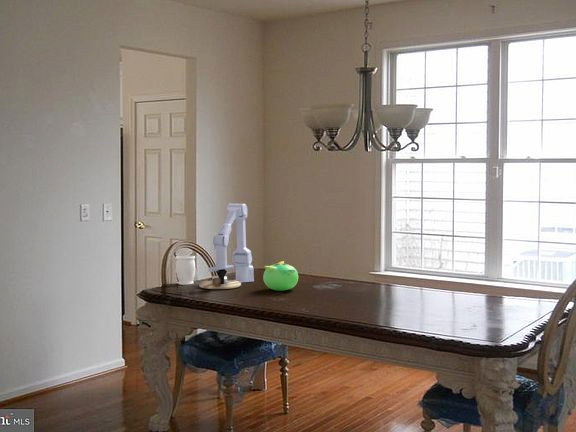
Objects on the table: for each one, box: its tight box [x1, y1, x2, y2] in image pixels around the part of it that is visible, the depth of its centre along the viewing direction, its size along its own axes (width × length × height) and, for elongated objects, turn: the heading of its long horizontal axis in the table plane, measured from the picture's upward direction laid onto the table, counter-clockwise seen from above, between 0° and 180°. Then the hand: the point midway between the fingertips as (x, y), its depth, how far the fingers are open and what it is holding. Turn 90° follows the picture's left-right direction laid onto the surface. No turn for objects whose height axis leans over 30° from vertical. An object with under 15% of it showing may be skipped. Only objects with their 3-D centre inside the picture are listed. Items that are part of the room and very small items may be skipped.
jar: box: [175, 254, 196, 286], centre depth 391 cm, size 11×10×15 cm
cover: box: [211, 275, 228, 284], centre depth 381 cm, size 8×8×4 cm
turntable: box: [198, 278, 242, 290], centre depth 381 cm, size 22×22×5 cm
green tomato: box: [262, 260, 299, 292], centre depth 367 cm, size 18×17×15 cm
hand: (221, 284), depth 373 cm, fingers closed, pressing on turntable
